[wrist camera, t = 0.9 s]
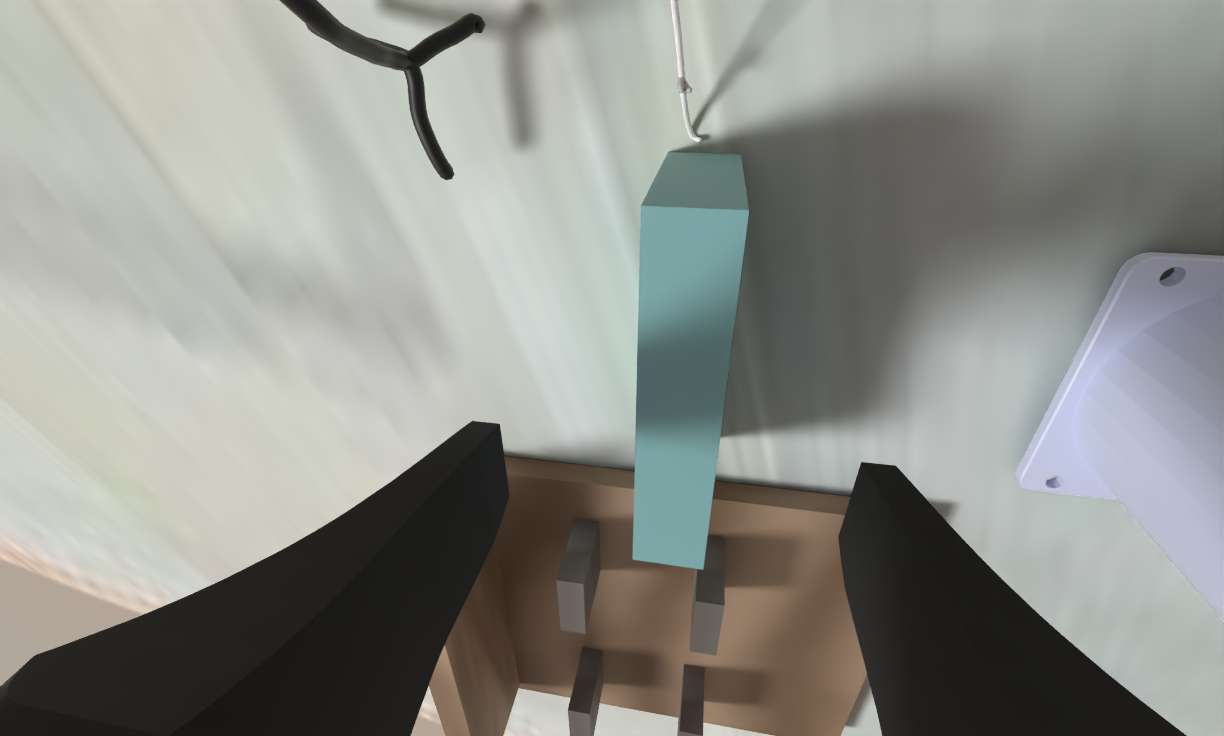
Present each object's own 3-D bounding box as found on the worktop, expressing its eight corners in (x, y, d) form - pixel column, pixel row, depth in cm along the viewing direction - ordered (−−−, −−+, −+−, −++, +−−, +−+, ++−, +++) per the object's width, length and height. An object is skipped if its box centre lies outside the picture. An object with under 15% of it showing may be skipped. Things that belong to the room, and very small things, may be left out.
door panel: (740, 152, 15) (749, 210, 10) (708, 436, 20) (703, 569, 15) (668, 151, 15) (641, 205, 10) (655, 431, 20) (632, 559, 15)
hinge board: (922, 505, 20) (991, 664, 15) (832, 725, 28) (856, 875, 23) (463, 451, 23) (387, 569, 17) (504, 666, 31) (461, 789, 26)
